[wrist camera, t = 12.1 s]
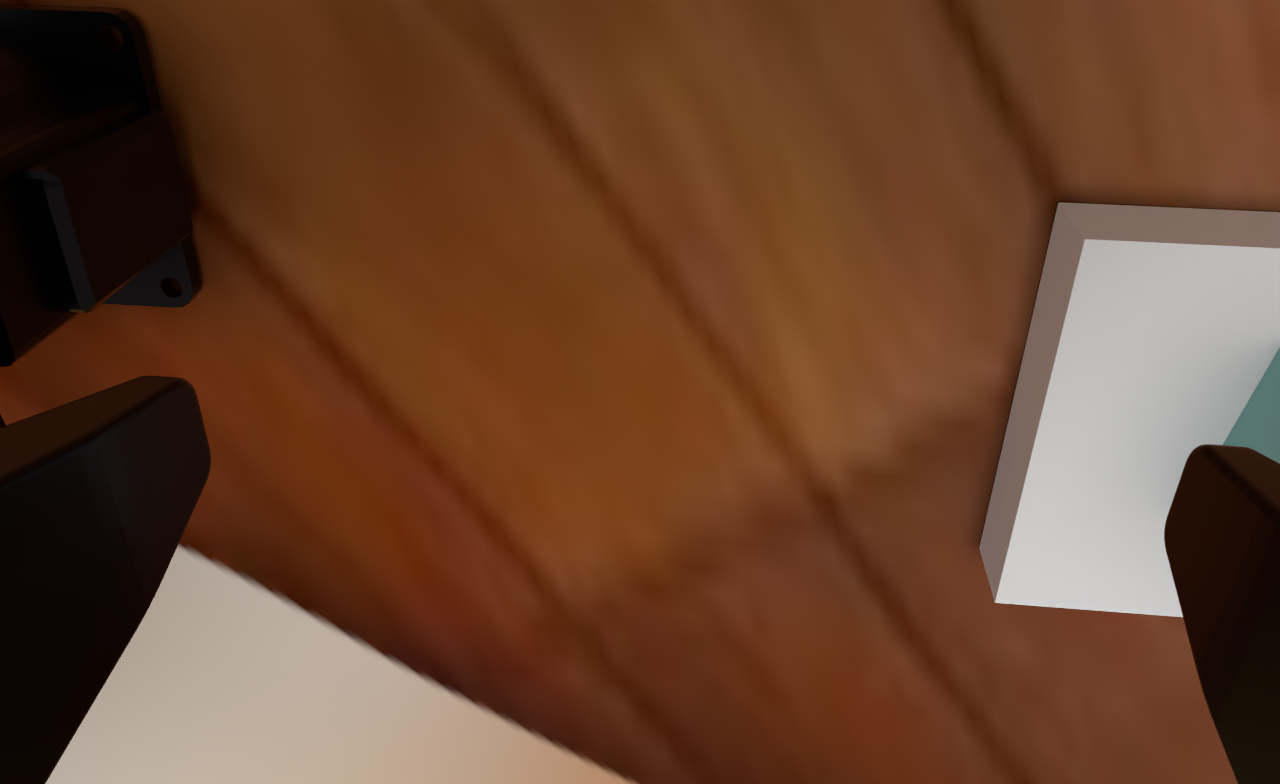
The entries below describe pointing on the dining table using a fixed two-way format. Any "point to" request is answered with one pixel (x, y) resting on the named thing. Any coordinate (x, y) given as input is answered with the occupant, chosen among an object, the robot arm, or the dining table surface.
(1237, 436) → the teal block
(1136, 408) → the base slab
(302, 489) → the dining table surface
